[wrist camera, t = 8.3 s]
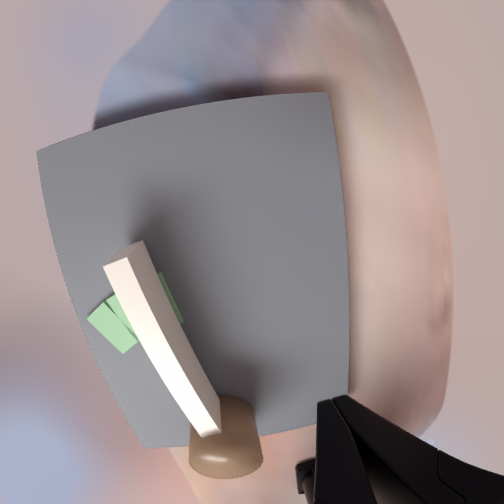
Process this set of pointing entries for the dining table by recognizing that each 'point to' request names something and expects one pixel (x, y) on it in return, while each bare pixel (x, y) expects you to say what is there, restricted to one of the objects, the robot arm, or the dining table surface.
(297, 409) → the dial plate
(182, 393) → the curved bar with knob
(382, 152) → the dining table surface
